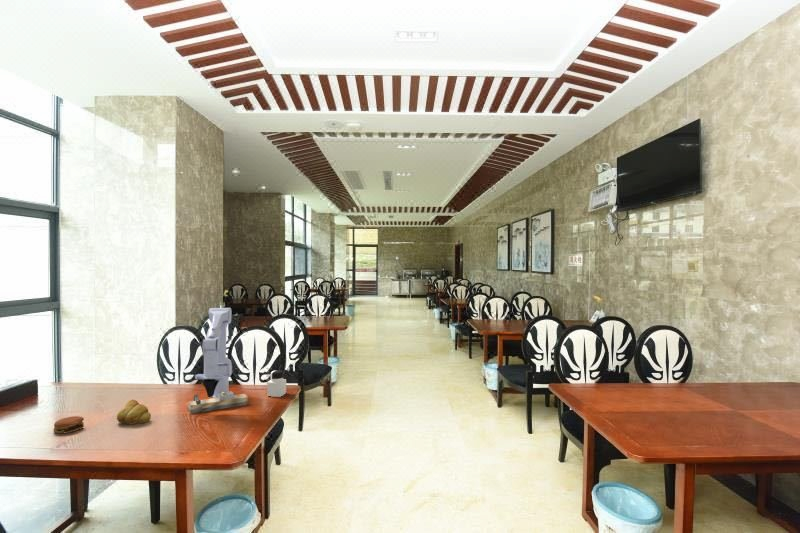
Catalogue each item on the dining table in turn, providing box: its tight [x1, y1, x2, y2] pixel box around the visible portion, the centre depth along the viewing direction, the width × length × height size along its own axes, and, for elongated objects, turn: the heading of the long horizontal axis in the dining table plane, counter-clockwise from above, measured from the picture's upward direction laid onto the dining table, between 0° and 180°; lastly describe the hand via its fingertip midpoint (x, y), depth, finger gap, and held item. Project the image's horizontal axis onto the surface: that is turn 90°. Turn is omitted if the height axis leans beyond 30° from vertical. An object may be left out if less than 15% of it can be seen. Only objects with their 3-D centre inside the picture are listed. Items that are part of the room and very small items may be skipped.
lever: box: [193, 394, 202, 404], centre depth 187 cm, size 10×2×5 cm, turn 33°
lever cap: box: [218, 391, 235, 401], centre depth 194 cm, size 5×6×3 cm
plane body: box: [188, 393, 249, 414], centre depth 192 cm, size 24×7×4 cm, turn 123°
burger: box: [53, 415, 85, 434], centre depth 164 cm, size 10×9×5 cm
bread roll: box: [116, 399, 152, 425], centre depth 173 cm, size 13×10×8 cm
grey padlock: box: [266, 369, 287, 398], centre depth 212 cm, size 7×7×12 cm
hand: (210, 396), depth 186 cm, fingers closed
